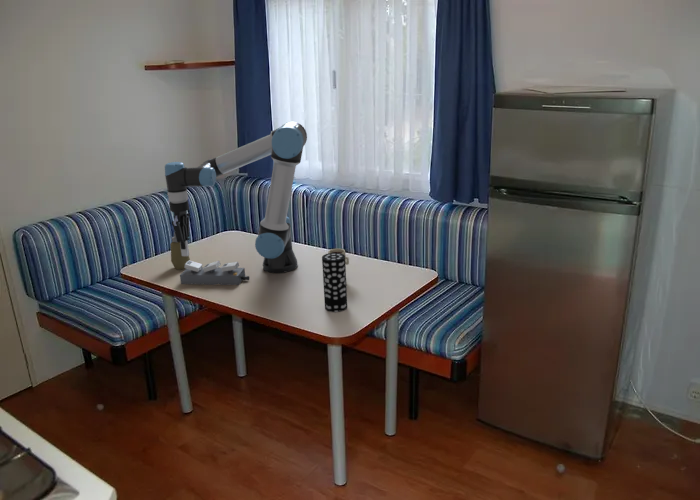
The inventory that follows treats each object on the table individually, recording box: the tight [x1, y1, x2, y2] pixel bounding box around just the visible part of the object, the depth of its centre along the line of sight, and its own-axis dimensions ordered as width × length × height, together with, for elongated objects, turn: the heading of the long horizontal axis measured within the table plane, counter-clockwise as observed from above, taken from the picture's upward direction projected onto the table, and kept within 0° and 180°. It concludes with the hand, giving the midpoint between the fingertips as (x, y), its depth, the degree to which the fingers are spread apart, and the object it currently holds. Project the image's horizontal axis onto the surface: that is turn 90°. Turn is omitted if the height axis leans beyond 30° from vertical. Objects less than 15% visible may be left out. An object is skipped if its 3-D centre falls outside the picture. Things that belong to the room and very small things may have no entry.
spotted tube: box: [321, 252, 348, 313], centre depth 213 cm, size 8×8×20 cm
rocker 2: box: [203, 260, 221, 272], centre depth 244 cm, size 6×5×2 cm
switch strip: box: [179, 266, 250, 286], centre depth 245 cm, size 28×9×5 cm, turn 83°
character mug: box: [327, 248, 350, 266], centre depth 238 cm, size 11×7×13 cm, turn 60°
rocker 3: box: [220, 261, 240, 271], centre depth 243 cm, size 6×5×2 cm
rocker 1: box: [184, 259, 204, 272], centre depth 245 cm, size 6×5×2 cm
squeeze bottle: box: [170, 230, 191, 270], centre depth 259 cm, size 8×8×18 cm
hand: (185, 255), depth 244 cm, fingers closed
